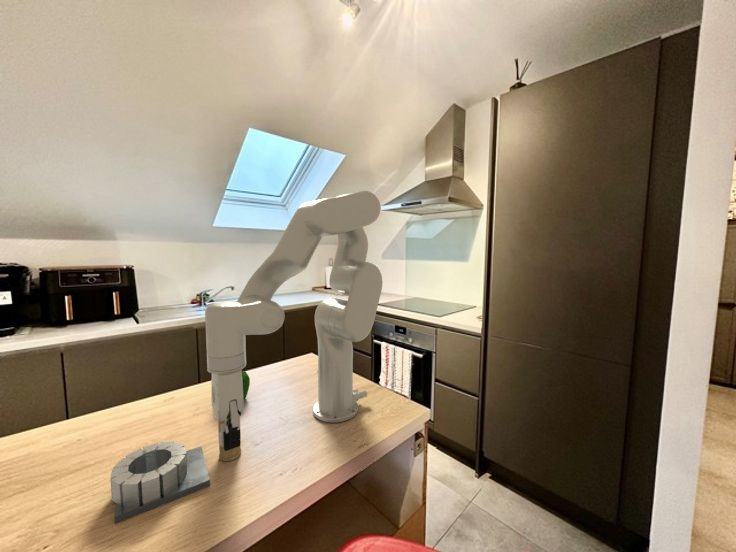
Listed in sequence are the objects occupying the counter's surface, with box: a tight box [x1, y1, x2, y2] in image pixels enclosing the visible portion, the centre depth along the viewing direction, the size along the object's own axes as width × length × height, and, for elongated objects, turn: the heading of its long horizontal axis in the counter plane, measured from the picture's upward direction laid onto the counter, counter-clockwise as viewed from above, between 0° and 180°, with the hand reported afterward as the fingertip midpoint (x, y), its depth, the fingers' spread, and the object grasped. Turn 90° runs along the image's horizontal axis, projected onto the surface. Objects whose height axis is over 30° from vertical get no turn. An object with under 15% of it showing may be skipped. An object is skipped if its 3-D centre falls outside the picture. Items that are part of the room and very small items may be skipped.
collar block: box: [110, 441, 211, 524], centre depth 58 cm, size 15×12×5 cm
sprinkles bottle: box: [217, 414, 242, 462], centre depth 66 cm, size 5×5×13 cm
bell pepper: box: [242, 371, 251, 401], centre depth 90 cm, size 8×8×10 cm
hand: (229, 440), depth 66 cm, fingers closed on sprinkles bottle, 4 cm apart
